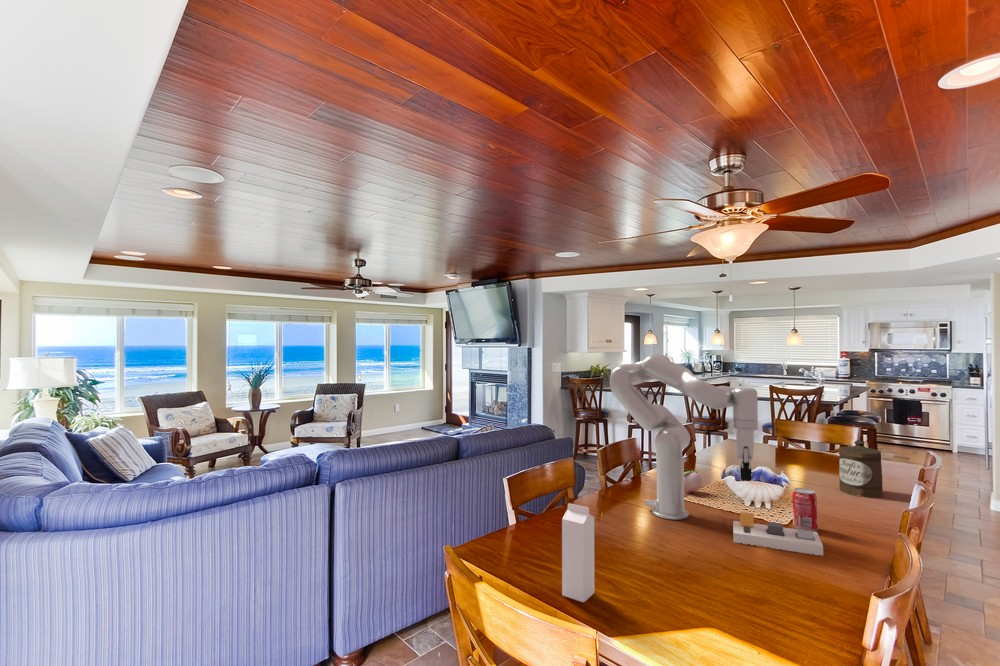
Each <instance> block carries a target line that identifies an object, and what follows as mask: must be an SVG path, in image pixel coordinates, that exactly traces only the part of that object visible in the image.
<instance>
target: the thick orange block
mask: <svg viewBox="0 0 1000 666" xmlns="http://www.w3.org/2000/svg"><path fill="white" fill-rule="evenodd" d="M754 518H755V515H754V513H753V512H747V511H739V522H740V525H742V526H745V533H749V527H754V524H755V519H754Z"/></svg>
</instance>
